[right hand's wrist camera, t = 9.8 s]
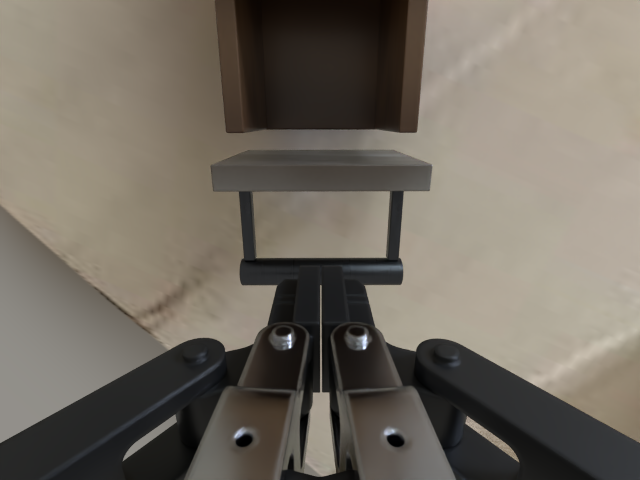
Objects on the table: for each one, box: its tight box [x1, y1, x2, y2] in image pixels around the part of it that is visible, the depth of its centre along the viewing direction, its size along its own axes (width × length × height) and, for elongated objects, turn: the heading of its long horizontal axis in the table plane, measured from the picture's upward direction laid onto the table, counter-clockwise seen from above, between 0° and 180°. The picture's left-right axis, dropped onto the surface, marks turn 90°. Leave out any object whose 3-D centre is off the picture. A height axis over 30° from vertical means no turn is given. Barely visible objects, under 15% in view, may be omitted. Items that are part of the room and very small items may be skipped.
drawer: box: [211, 0, 432, 285], centre depth 18 cm, size 22×10×8 cm, turn 0°
